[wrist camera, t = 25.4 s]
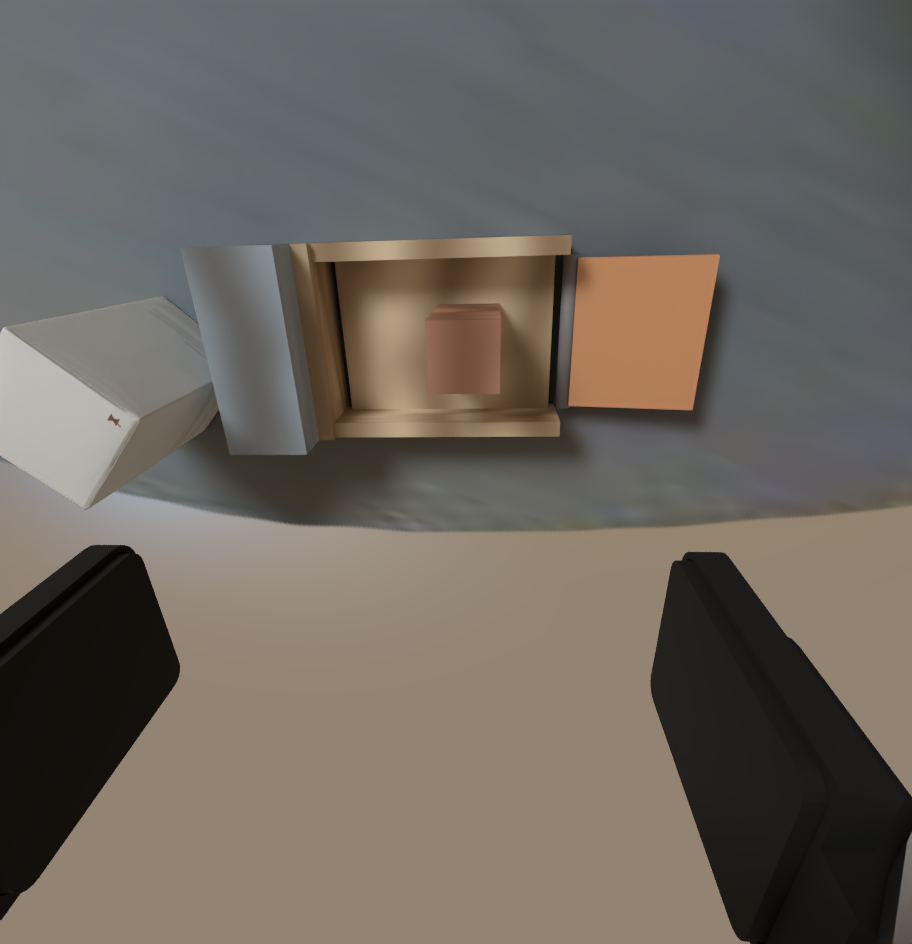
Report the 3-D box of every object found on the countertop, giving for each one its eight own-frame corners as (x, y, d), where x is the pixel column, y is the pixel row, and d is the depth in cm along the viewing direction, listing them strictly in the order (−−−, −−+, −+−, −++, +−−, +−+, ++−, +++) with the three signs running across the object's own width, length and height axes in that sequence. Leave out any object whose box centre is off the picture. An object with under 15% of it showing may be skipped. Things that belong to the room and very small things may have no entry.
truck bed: (562, 234, 32) (580, 234, 25) (552, 416, 37) (565, 454, 30) (239, 245, 33) (180, 248, 27) (273, 418, 38) (230, 455, 32)
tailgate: (563, 254, 32) (716, 250, 30) (555, 404, 36) (688, 408, 34) (563, 255, 31) (720, 251, 29) (554, 408, 35) (691, 413, 33)
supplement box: (162, 292, 35) (0, 320, 23) (252, 364, 36) (143, 422, 25) (117, 370, 37) (-48, 429, 26) (204, 434, 39) (85, 515, 28)
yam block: (499, 303, 33) (500, 319, 26) (498, 364, 34) (499, 393, 28) (437, 304, 33) (424, 320, 27) (440, 365, 35) (428, 394, 28)
